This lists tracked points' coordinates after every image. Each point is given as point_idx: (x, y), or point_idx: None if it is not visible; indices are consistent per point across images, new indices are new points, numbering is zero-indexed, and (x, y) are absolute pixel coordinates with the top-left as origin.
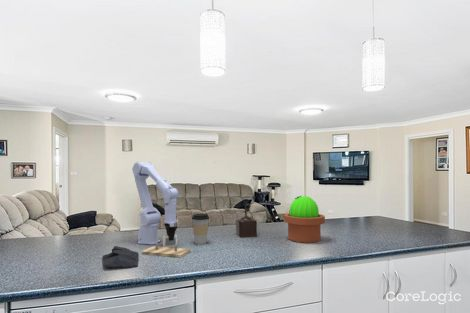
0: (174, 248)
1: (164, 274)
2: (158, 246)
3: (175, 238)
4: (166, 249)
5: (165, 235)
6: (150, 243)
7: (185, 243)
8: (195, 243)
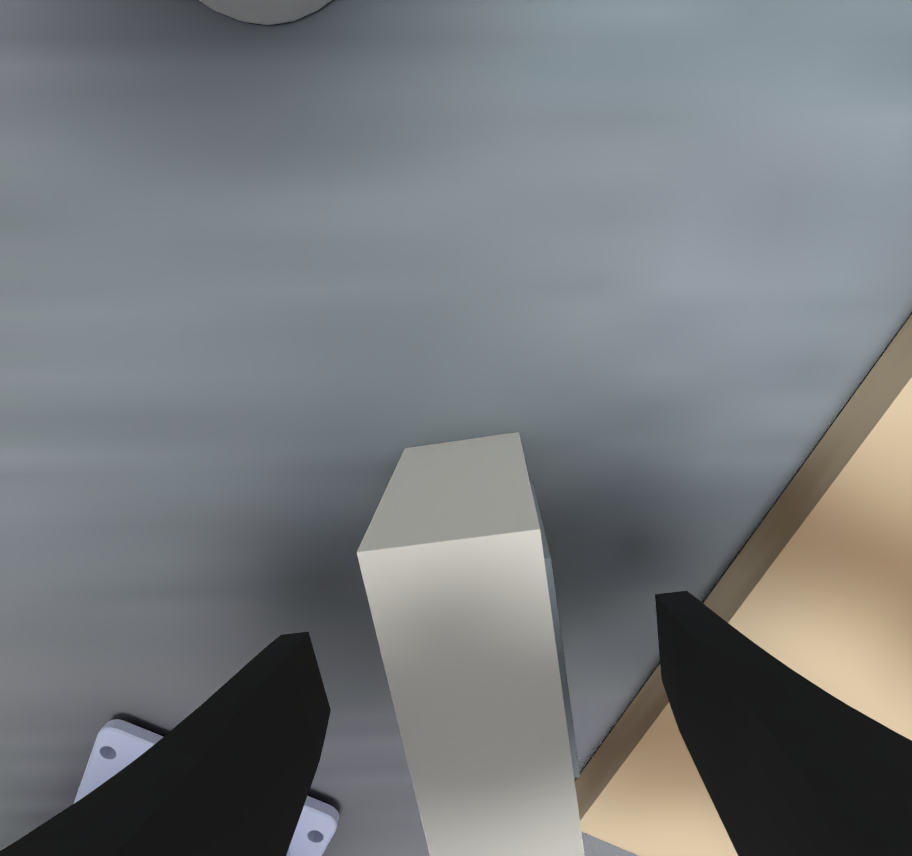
0: (875, 499)
1: None
2: (623, 760)
3: (548, 549)
4: (894, 636)
5: (427, 817)
6: (319, 851)
7: (280, 269)
8: (318, 9)
